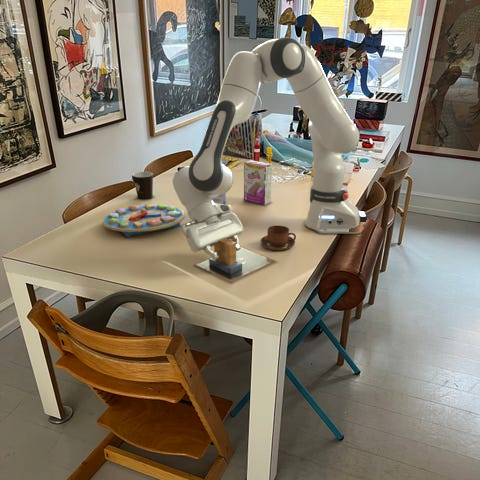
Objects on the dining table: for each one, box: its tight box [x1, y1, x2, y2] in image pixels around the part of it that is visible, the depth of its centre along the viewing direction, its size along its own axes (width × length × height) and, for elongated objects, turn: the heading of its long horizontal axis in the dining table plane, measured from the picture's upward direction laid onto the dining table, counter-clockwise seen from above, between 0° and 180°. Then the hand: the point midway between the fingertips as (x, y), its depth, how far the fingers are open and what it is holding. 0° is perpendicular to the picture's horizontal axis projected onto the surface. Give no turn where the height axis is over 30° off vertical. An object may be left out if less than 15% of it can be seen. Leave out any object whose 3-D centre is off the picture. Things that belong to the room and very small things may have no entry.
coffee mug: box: [131, 171, 154, 201], centre depth 209 cm, size 12×9×10 cm
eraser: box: [208, 238, 242, 274], centre depth 149 cm, size 10×5×9 cm, turn 45°
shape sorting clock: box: [102, 203, 185, 238], centre depth 182 cm, size 31×30×6 cm
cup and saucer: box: [260, 225, 297, 251], centre depth 165 cm, size 12×12×6 cm
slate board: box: [195, 246, 275, 282], centre depth 154 cm, size 20×16×1 cm
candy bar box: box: [243, 159, 273, 206], centre depth 201 cm, size 11×5×16 cm, turn 53°
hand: (227, 254), depth 149 cm, fingers open, 8 cm apart
